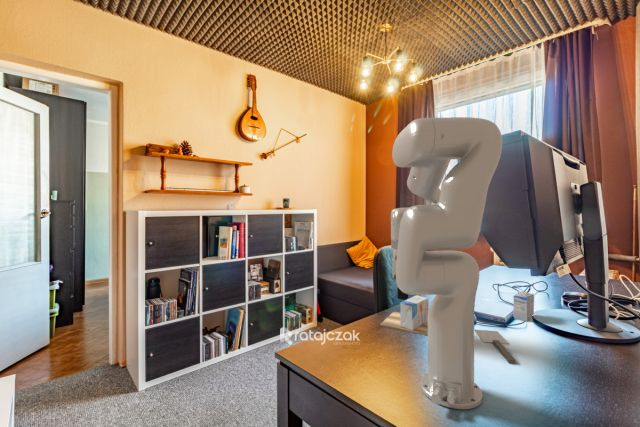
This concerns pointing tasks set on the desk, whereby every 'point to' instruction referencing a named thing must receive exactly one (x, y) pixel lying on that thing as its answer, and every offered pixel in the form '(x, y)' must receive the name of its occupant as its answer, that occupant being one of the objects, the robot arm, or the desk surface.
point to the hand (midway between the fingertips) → (402, 298)
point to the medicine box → (523, 306)
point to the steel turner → (496, 343)
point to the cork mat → (394, 323)
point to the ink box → (414, 312)
